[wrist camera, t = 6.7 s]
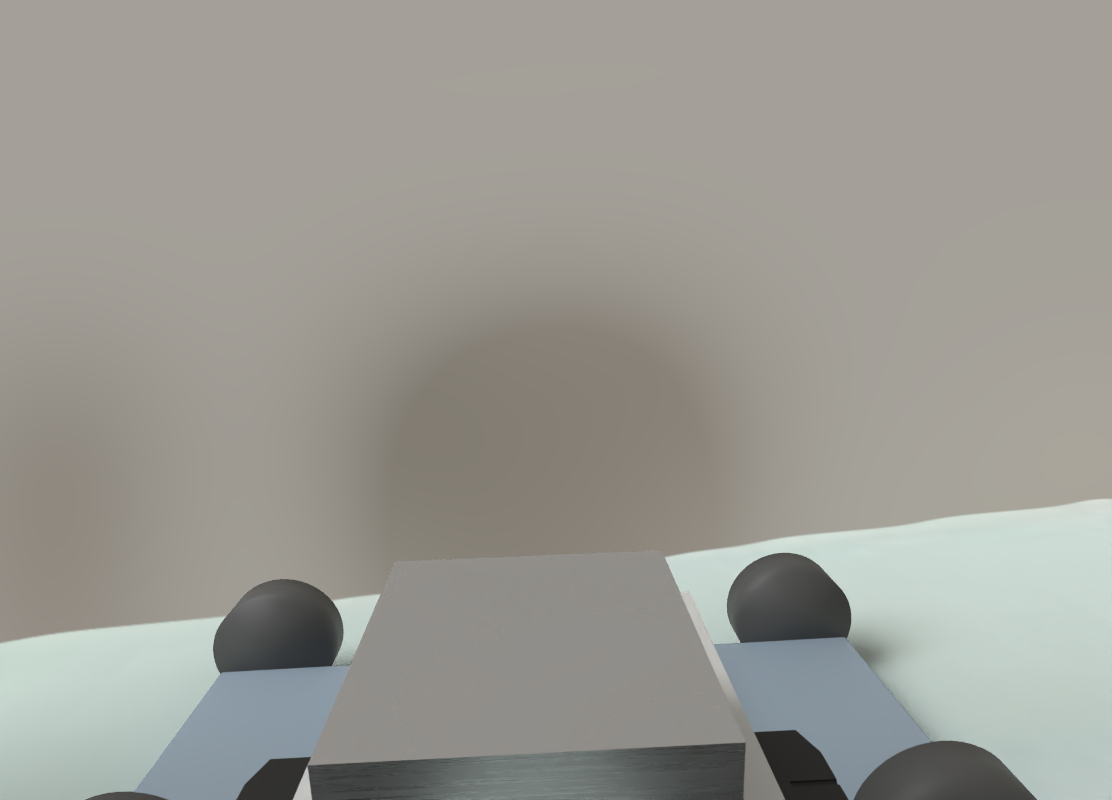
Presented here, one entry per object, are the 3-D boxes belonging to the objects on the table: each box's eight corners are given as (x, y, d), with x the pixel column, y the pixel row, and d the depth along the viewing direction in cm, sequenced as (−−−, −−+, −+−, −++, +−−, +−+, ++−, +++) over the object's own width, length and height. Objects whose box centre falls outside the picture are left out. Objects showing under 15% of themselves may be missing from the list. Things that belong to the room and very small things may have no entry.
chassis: (12, 1016, 15) (-31, 857, 14) (240, 681, 27) (224, 582, 26) (1055, 942, 16) (1079, 786, 15) (829, 647, 28) (835, 550, 27)
